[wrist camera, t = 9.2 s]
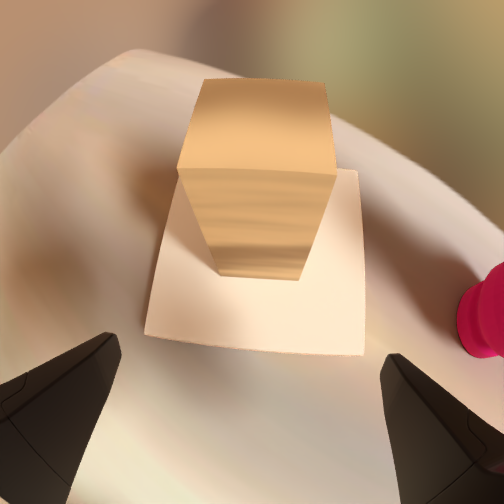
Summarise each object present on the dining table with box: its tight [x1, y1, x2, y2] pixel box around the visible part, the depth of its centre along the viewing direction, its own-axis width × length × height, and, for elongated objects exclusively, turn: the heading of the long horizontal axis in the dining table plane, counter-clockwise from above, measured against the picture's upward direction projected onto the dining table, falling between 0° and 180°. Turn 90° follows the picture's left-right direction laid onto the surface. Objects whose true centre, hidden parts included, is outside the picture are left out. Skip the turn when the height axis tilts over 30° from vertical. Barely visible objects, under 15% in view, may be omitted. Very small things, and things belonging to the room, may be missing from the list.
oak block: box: [177, 78, 337, 281], centre depth 15 cm, size 5×5×11 cm
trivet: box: [144, 168, 365, 356], centre depth 21 cm, size 14×14×2 cm
